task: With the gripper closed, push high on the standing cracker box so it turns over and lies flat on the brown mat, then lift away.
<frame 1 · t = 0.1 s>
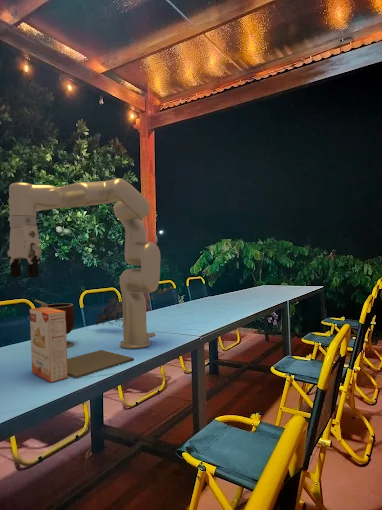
hand: (24, 277, 113), 31 cm above the table, tool pointing down, fingers open, 9 cm apart
mat: (90, 363, 124), on the table
mate gourd: (56, 346, 150), on the table
dried plant: (131, 332, 175), on the table
cracker box: (49, 376, 112), on the table
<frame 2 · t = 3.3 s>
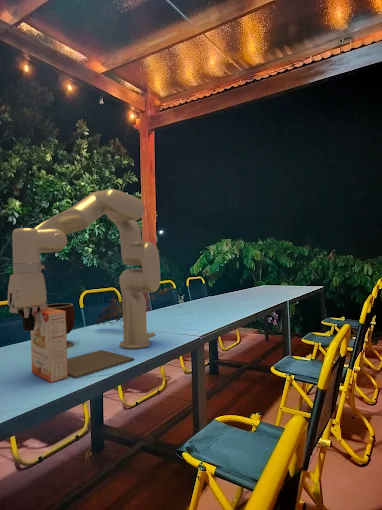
hand: (29, 330, 108), 15 cm above the table, tool pointing down, fingers closed
cracker box: (49, 376, 112), on the table, touching gripper
everything else where it was.
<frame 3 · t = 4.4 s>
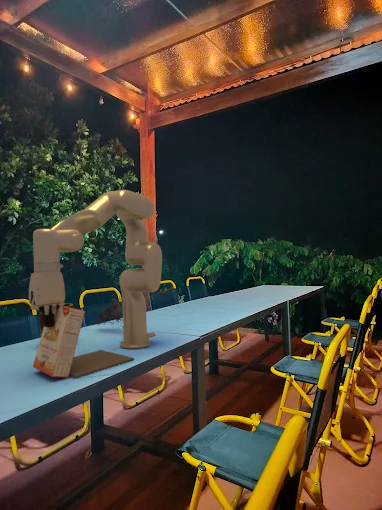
hand: (48, 326, 113), 15 cm above the table, tool pointing down, fingers closed
cracker box: (49, 373, 112), point 1 cm above the table, touching mat
everything else where it was.
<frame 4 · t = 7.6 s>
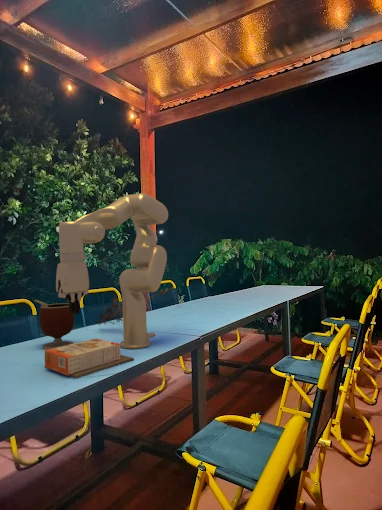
hand: (74, 313, 120), 18 cm above the table, tool pointing down, fingers closed
cracker box: (54, 362, 113), point 4 cm above the table, touching mat
everything else where it was.
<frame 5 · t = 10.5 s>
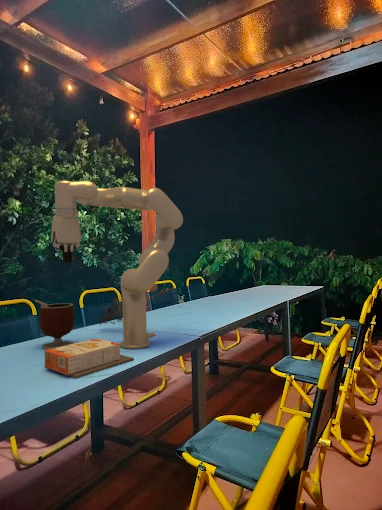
hand: (67, 262, 136), 35 cm above the table, tool pointing down, fingers closed
at the end: cracker box tilted 91°; cracker box touching mat; cracker box inside the target area (2.3 cm from its centre), point 3.9 cm above the table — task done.
